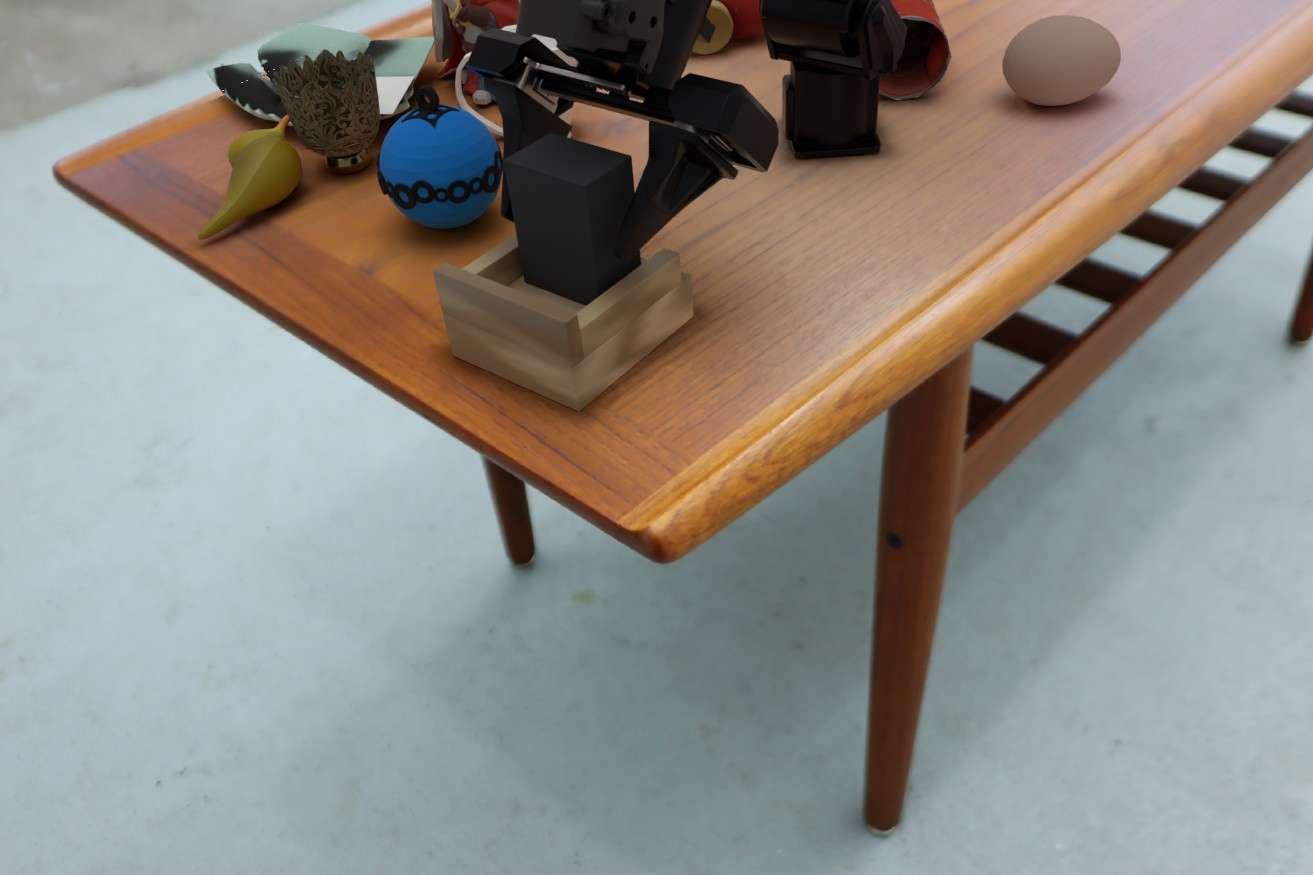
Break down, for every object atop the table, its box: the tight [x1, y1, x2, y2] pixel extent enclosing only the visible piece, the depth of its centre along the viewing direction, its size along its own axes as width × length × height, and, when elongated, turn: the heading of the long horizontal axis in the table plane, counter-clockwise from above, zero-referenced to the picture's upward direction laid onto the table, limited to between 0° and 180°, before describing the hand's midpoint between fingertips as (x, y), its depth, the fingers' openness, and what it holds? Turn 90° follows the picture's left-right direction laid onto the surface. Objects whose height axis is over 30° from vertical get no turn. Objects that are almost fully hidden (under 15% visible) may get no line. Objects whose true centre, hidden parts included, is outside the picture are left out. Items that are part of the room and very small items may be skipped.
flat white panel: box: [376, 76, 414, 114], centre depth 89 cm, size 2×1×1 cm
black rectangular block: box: [504, 133, 642, 306], centre depth 63 cm, size 4×6×8 cm, turn 53°
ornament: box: [376, 84, 503, 230], centre depth 75 cm, size 9×9×10 cm
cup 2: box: [454, 25, 576, 138], centre depth 85 cm, size 7×10×8 cm
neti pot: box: [197, 115, 303, 241], centre depth 82 cm, size 4×15×6 cm
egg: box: [1001, 14, 1122, 107], centre depth 84 cm, size 7×7×9 cm
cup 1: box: [272, 49, 381, 175], centre depth 83 cm, size 8×7×8 cm
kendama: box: [691, 0, 764, 56], centre depth 99 cm, size 8×6×18 cm
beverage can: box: [879, 0, 952, 101], centre depth 91 cm, size 7×12×7 cm, turn 176°
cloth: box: [205, 21, 435, 127], centre depth 97 cm, size 20×22×2 cm
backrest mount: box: [432, 233, 695, 413], centre depth 64 cm, size 11×10×6 cm
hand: (561, 238), depth 62 cm, fingers open, 8 cm apart
